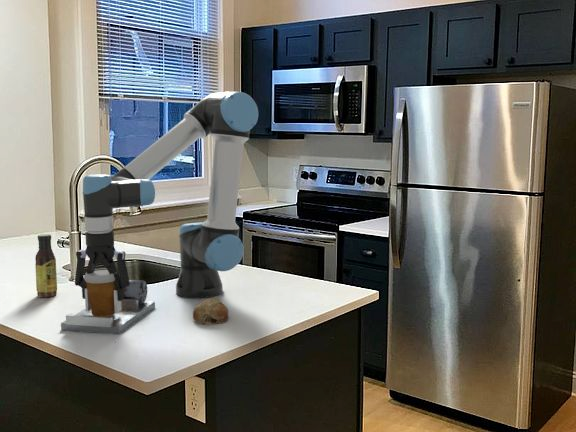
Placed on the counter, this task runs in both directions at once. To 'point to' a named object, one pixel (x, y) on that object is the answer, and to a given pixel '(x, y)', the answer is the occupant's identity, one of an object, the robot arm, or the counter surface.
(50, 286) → the sauce bottle
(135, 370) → the counter surface
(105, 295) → the disposable coffee cup
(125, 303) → the block
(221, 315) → the bread roll
